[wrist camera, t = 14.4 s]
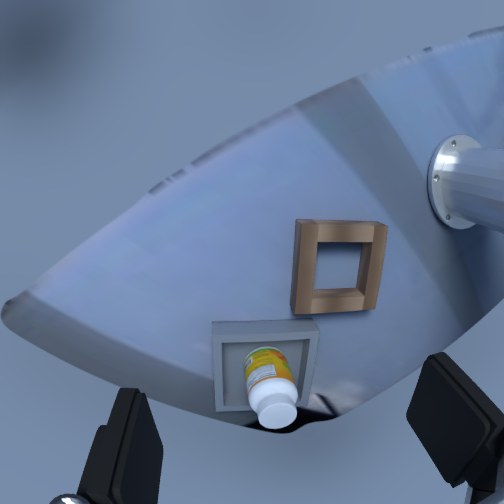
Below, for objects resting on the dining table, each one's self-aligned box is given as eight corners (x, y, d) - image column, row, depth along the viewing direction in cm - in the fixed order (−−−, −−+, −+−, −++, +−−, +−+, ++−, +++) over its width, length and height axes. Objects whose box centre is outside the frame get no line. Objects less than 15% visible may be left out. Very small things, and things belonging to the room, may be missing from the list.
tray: (312, 318, 37) (319, 330, 34) (302, 391, 41) (307, 405, 38) (212, 321, 36) (212, 335, 33) (215, 396, 39) (216, 411, 36)
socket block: (377, 221, 34) (388, 226, 32) (366, 300, 37) (375, 309, 35) (295, 219, 33) (301, 224, 31) (289, 304, 36) (294, 314, 34)
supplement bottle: (290, 370, 39) (308, 423, 29) (251, 383, 39) (260, 438, 29) (279, 339, 37) (297, 391, 28) (237, 353, 37) (244, 408, 28)
